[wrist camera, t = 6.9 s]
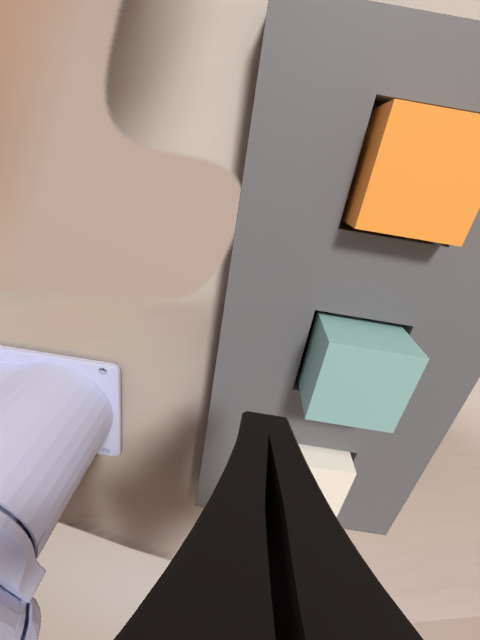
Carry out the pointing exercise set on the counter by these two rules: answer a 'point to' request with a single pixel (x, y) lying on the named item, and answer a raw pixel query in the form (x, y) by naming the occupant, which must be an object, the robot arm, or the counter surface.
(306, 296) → the button panel
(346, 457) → the white button
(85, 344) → the counter surface
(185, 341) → the counter surface
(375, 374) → the teal button
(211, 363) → the counter surface
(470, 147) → the orange button
